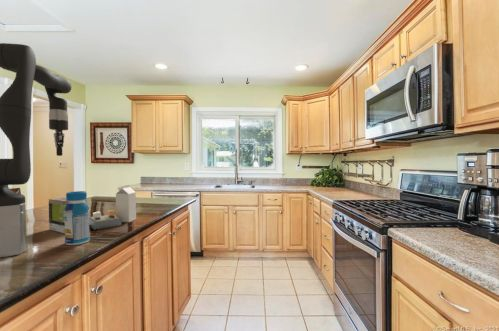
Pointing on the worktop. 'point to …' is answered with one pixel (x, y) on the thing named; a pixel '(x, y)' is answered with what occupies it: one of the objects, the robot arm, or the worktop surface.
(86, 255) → the worktop surface
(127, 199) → the milk carton
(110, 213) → the paddle orange
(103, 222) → the switch box
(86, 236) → the blue plastic bottle
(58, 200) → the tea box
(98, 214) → the paddle white
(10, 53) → the robot arm
